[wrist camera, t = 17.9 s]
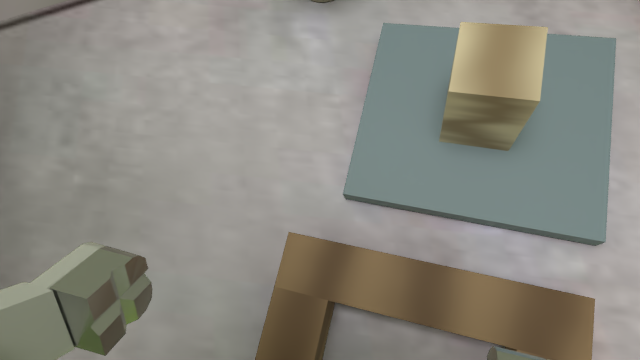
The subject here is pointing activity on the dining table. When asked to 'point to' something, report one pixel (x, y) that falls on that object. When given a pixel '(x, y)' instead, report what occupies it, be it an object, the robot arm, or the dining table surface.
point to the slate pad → (484, 163)
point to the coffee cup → (321, 0)
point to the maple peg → (493, 84)
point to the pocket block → (415, 302)
